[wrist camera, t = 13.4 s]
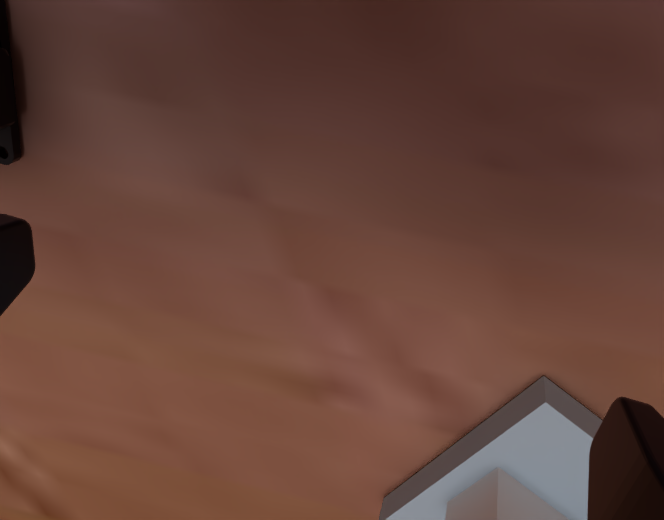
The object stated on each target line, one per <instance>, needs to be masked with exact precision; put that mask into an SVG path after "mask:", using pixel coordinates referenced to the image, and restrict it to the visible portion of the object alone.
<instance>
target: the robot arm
mask: <svg viewBox="0 0 664 520" xmlns="http://www.w3.org/2000/svg"><path fill="white" fill-rule="evenodd" d="M4 148H5V149H6V150H7V152H8V154H7V153H6V151H5V149H4ZM20 157H21V148H20V139H19V129H18V120H17V111H16V101H15V92H14V83H13V73H12V64H11V54H10V45H9V36H8V26H7V17H6V8H5V1H4V0H0V164H4V165H9V164H11V163H13V162H16V161H18V160H19V159H20ZM34 271H35V257H34V247H33V237H32V230H31V227H30V225H29V223H28V222H27V221H25V220H23V219H20V218H16V217H13V216H10V215H6V214H0V316H1V315H2V314H3V312H4V311H5V310H6V309H7V308H8V307H9V305H10V304H11V303H12V302H13V301H14V299H15V298H16V297H17V296H18V295H19V294H20V292H21V291H22V290H23V289H24V288H25V286H26V285H27V284H28V283H29V282H30V280H31V279H32V277H33V274H34ZM587 520H664V418H663V417H662V416H661V415H660V414H659V413H658V412H657V411H656V410H655V409H654V408H653V407H652V406H651V405H649V404H646V403H643V402H639V401H636V400H632V399H629V398H626V397H619V398H617V399H616V400H615V401H614V402H613V403H612V405H611V407H610V408H609V410H608V412H607V414H606V416H605V418H604V419H603V421H602V423H601V425H600V427H599V429H598V431H597V432H596V434H595V436H594V438H593V440H592V443H591V447H590V452H589V478H588V513H587Z"/></svg>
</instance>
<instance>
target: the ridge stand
mask: <svg viewBox="0 0 664 520" xmlns="http://www.w3.org/2000/svg"><path fill="white" fill-rule="evenodd" d="M601 423H602V420H601V419H600V418H598V417H597V416H596V415H595V414H593V413H592V412H591V411H589V410H588V409H587V408H585V407H584V406H583V405H581V404H580V403H579V402H578V401H576V400H575V399H574V398H572V397H571V396H570V395H568V394H567V393H566V392H564V391H563V390H562V389H561V388H559V387H558V386H557V385H555V384H554V383H553V382H551V381H550V380H549V379H547V378H546V377H545V376H543V377H541V378H540V379H539V380H537V381H536V382H535V383H533V384H532V385H531V386H530V387H528V388H527V389H526V390H524V391H523V392H522V393H520V394H519V395H518V396H516V397H515V398H514V399H513V400H511V401H510V402H509V403H507V404H506V405H505V406H503V407H502V408H501V409H499V410H498V411H497V412H496V413H494V414H493V415H492V416H490V417H489V418H488V419H486V420H485V421H484V422H483V423H481V424H480V425H479V426H477V427H476V428H475V429H473V430H472V431H471V432H469V433H468V434H467V435H466V436H464V437H463V438H462V439H460V440H459V441H458V442H456V443H455V444H454V445H452V446H451V447H450V448H449V449H447V450H446V451H445V452H443V453H442V454H441V455H439V456H438V457H437V458H435V459H434V460H433V461H432V462H430V463H429V464H428V465H426V466H425V467H424V468H422V469H421V470H420V471H418V472H417V473H416V474H415V475H413V476H412V477H411V478H409V479H408V480H407V481H405V482H404V483H403V484H402V485H400V486H399V487H398V488H396V489H395V490H394V491H392V492H391V493H390V494H388V495H387V496H386V497H385V498H384V499H383V503H382V508H381V512H380V516H379V520H587V513H588V478H589V452H590V447H591V443H592V440H593V438H594V436H595V434H596V432H597V431H598V429H599V427H600V425H601Z"/></svg>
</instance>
